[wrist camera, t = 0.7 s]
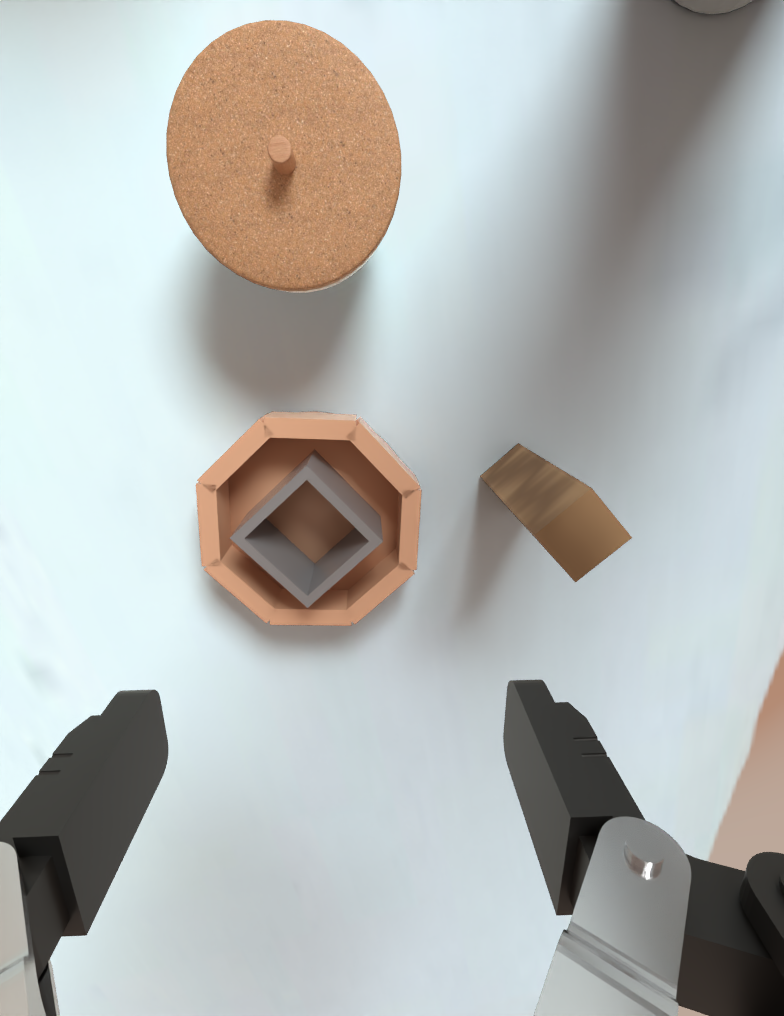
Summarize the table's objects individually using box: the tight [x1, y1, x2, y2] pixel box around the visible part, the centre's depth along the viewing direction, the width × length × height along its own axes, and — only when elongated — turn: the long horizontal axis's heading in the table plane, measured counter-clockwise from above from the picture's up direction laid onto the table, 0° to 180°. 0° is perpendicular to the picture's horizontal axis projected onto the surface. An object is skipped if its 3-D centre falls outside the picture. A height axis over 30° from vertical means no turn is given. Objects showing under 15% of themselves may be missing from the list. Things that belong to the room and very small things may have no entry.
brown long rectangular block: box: [480, 444, 632, 582], centre depth 30 cm, size 4×4×12 cm
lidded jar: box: [167, 20, 401, 293], centre depth 26 cm, size 11×11×9 cm
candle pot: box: [196, 411, 421, 626], centre depth 33 cm, size 14×14×6 cm
